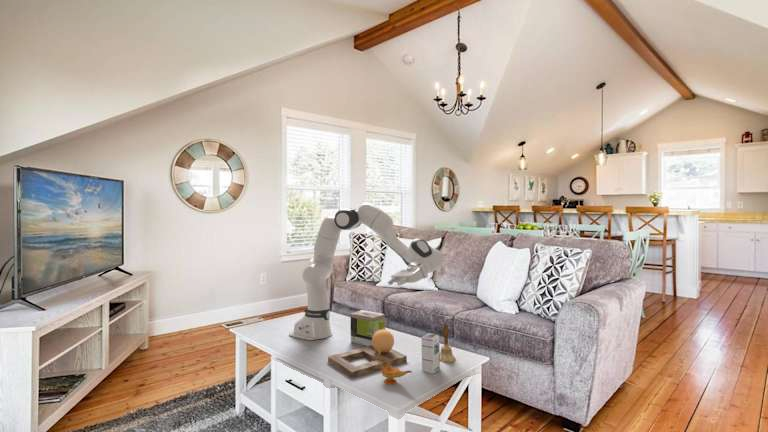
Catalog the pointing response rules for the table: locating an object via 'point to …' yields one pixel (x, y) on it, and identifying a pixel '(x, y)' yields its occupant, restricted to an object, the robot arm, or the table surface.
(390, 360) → the wooden board with hole
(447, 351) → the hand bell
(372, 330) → the tea box
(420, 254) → the robot arm
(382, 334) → the ball
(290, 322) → the table surface
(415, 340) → the table surface
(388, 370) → the magic lamp
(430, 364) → the syrup box
